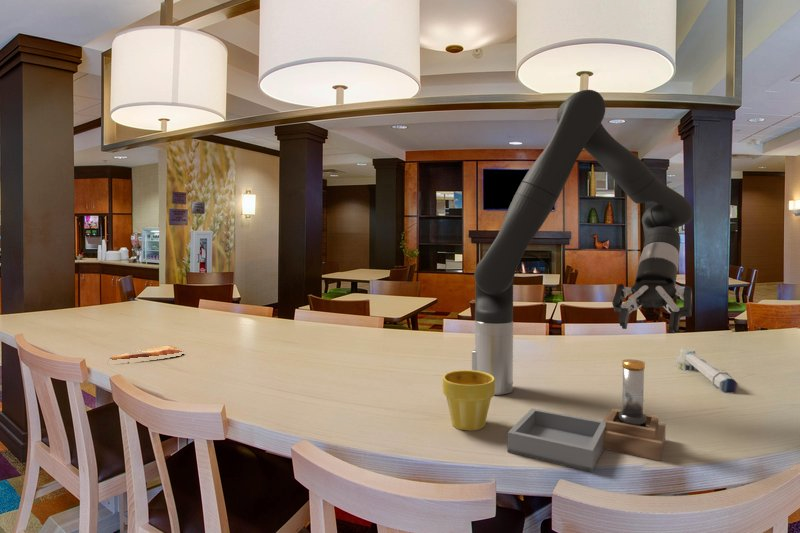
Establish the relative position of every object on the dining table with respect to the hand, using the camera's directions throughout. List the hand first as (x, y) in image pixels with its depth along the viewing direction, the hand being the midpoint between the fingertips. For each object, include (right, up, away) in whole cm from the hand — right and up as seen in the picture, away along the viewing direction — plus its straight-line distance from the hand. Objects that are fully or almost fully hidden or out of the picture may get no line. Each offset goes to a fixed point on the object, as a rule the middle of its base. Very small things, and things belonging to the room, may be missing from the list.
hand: (646, 328), depth 95 cm
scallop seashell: (-130, -18, +58) cm, 144 cm away
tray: (-21, -20, -9) cm, 30 cm away
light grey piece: (+32, -18, +32) cm, 48 cm away
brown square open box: (-7, -20, -8) cm, 23 cm away
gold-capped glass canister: (-7, -17, -8) cm, 20 cm away
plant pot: (-35, -20, +1) cm, 40 cm away
